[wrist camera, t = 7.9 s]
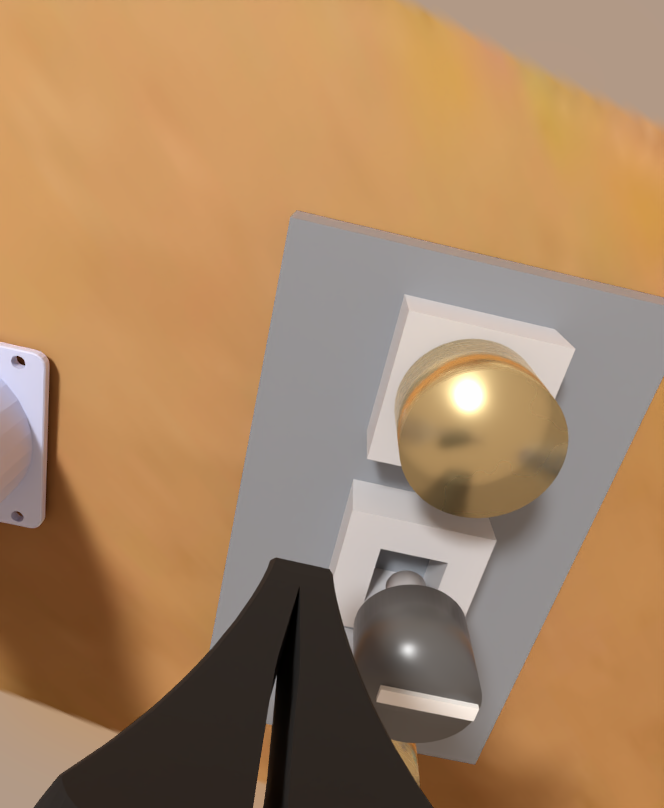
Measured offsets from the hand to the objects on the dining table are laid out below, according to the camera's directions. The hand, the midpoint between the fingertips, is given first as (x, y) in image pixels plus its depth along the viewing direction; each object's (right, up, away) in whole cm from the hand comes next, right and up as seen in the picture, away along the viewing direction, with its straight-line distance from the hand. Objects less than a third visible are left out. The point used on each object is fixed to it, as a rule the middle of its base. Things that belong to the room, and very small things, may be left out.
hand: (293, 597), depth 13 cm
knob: (+5, +5, +7) cm, 10 cm away
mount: (+4, 0, +11) cm, 12 cm away
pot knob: (+3, -2, +7) cm, 9 cm away
